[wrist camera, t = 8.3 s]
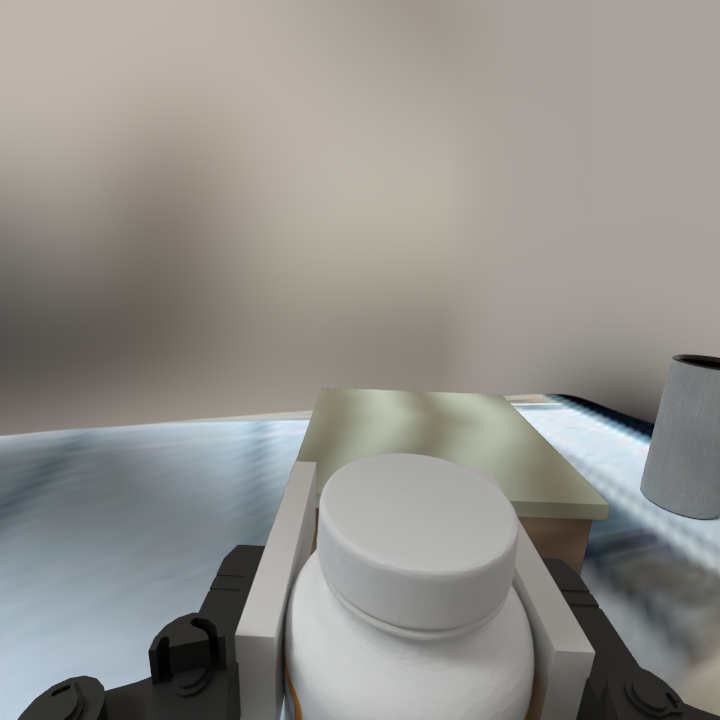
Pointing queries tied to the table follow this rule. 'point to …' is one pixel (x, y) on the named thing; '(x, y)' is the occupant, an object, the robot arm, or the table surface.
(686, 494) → the grey hollow cylinder
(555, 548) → the podium
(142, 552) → the table surface
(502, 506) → the supplement bottle
